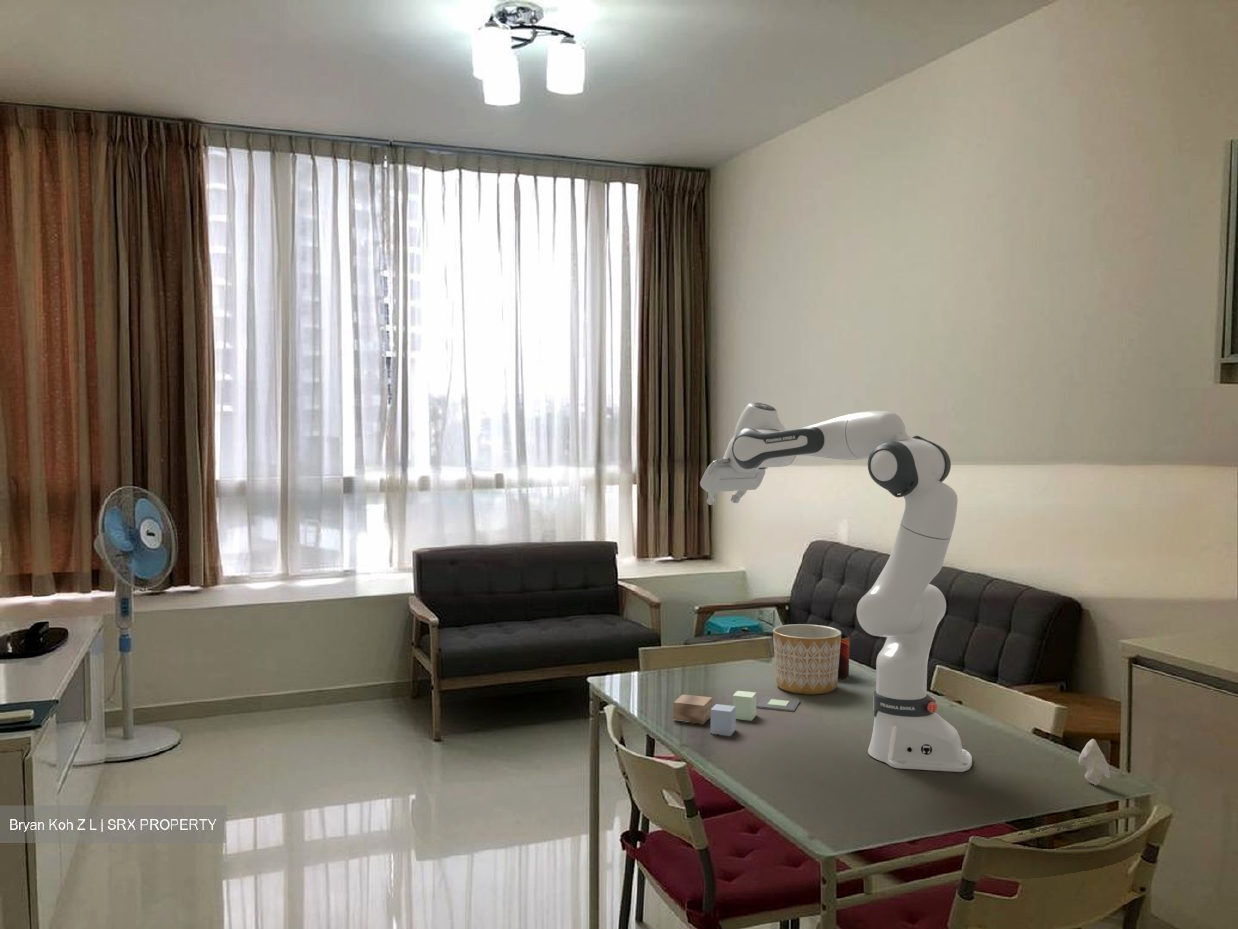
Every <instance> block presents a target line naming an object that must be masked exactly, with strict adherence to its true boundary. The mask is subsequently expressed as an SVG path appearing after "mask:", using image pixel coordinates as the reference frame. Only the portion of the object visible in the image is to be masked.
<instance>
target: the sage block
mask: <svg viewBox="0 0 1238 929" xmlns="http://www.w3.org/2000/svg"><path fill="white" fill-rule="evenodd" d="M756 705H757V692H755V691H744V690H736V691H735V692H734V694H732V706H736V720H743V721H750V722H751V721H753V720H754V719H755V717H756V716H757V708H756Z"/></svg>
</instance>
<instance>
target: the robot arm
mask: <svg viewBox="0 0 1238 929" xmlns="http://www.w3.org/2000/svg"><path fill="white" fill-rule="evenodd" d="M906 430H907V429H906V426H905V422H904V421H903V419H902V418H901V417H900V416H899V415H898V414H897V413H896V412H893V411H888V410H868V411H867V410H866V411H858V412H851V413H847V414H844V415H840V416H837V417H834V418H830V419H828V420H827V419H826V420H824V421H820V422H817V423H813V424H811V425H807V426H804V427H800V428H794V429H793V428H792V429H787V428H785V426H784V425H783V423H782V421H781V420H780V419H779V414H778V411H777V409H776V408H775V407H773V406H771V405H769V404H766V403H761V402H750V403H748V404H747V405H746V407H744V409H743V411H742V412H741V414H740V416H739V418H738V420H737V423H736V426H735V429H734V433H733V434H734V435H733V437H732V438H731V439H730V440H729V442H728V445H727V448H726V450H725V452H724V454H723V457H722V458H717V459H715V460H713V461H712V462H711V463H710V464H709V465H708V466H707V468H706V469H705V471H704V474H703V475H702V478H701V480H700V482H699V485H700V487H701V488H702V489H703V491H705V492H706V493H707V499H706V503H707V504H708V505H709V506H713V505H715V504H716V501H717V499H716V497H715V496H716V495H717V493H718V492H720V493H721V492H722V493H723V492H735V491H736V492H735V493H734V494H732V496H731V498H730V501H731V502H732V503H733V504H738V503H739V502H740V500H741V499H742V498H743V497H744V496H745V494H746V493H747V491H754V490H755V491H756V490H757V489H758V488H759V487H760V486H761V484H762V482H763V479H764V477H765V475H766V470H768V468H778V467H779V468H780V467H781V468H782V467H787V466H790V465H791V464H792V463H793V462H794V460H795V459H796V456H806V457H809V456H810V457H815V458H816V457H817V458H818V457H819V458H823V459H833V460H844V461H845V460H846V461H849V460H850V461H856V460H864V459H865V460H866V459H868V460H867V470H868V473H869V474H868V475H870V478H871V479H872V480H873V482H874V483H876V484H877V485H878V486H880V487H881V488H883V489H885V490H886V491H887V492H889V494H891V495H892V496H894V497H895V498H904V502H905V506H904V511H903V514H902V517H901V521H900V524H899V528H898V531H897V533H896V534H897V535H896V538H895V541H894V544H893V547H892V550H891V553H890V556H889V558H888V560H887V561H886V563H885V566H884V567H883V569H882V571H881V572H880V574H879V575H878V577H877V579H876V581H875V582H874V584H873V585H872V587H871V588H870V589H869V590H868V591H867V592H866V593H865V594H864V595H863V596H862V597H861V598H860V600H858V603H857V606H856V618H857V621H858V623H859V625H860V627H861V628H862V630H863V631H865V633H867V634H869V635H871V636H874V637H883V638H886V639H885V642H884V645H883V646H882V648H881V650H880V651H879V653H878V654H877V657H876V659H875V660H876V662H875V666H876V667H875V668H876V669H875V690H874V693H873V696H872V702H873V704H872V709H873V710H872V713H873V717H874V721H873V728H872V735H871V738H870V742H869V746H868V749H867V753H868V755H869V756H870V757H871V758H874V759H875V760H878V761H880V762H883V763H886V764H887V765H888V766H890V767H891V768H895V769H907V770H921V771H922V770H923V771H936V772H937V771H941V772H956V773H964V772H966V771H969V770H970V769H971V767H972V766H973V757H972V755H971V753H970V752H969V751H968V750H966V749H964V748H963V747H962V741H961V740H962V739H961V737H960V735H959V732H958V730H957V729H956V728H955V727H954V726H953V725H951V723H949V722H948V721H946V720H945V719H944V718H942V717H941V716H940V715H939V714H938V713H936V712H937V710H938V705H937V702H936V700H935V698H936V697H935V696H930V694H927V680H928V675H927V674H928V663H929V661H928V660H929V655H930V651H931V648H932V644H933V640H934V637H935V633H936V631H937V627H938V625H939V623H940V622H941V621H942V619H943V618H944V617H945V614H946V611H947V602H946V597H945V595H944V594H943V592H942V591H941V590H940V588H938V587H937V586H935V585H933V584H930V583H931V582H932V580H933V579H934V578H935V577H936V576H937V575H938V574H939V573H940V572H941V569H942V568H943V565H944V561H945V558H946V554H947V552H948V547H949V546H950V545H949V544H950V542H951V540H952V539H951V538H952V535H953V531H954V527H955V523H956V518H957V510H958V501H959V500H958V495H957V492H956V491H955V490H954V488H952V487H951V486H950V485H948V484H946V483H945V482H944V481H945V480H946V479H947V478H948V476H949V475H950V472H951V468H952V467H951V465H952V464H951V458H950V455H949V453H948V452H947V451H946V449H944V448H943V447H942V446H941V445H939V444H936V443H935V442H932V441H930V440H927V439H926V438H923V437H921V436H919V435H914V436H912V437H911V436H909V435H908V434H907V431H906Z"/></svg>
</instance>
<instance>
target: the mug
mask: <svg viewBox="0 0 1238 929" xmlns="http://www.w3.org/2000/svg"><path fill="white" fill-rule="evenodd" d="M848 676H849V677H850V636H849V635H848V634H845V633H841V644H840V656H839V667H838V679H837V680H845V678H846V679H848V678H849V677H848ZM847 677H848V678H847Z"/></svg>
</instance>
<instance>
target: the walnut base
mask: <svg viewBox="0 0 1238 929" xmlns="http://www.w3.org/2000/svg"><path fill="white" fill-rule="evenodd" d="M672 706H673V713H672V714H673V716H672V717H673V718H672V719H677V720H683V721H689V722H694V723H693V724H695V723H699V724H698V725H703V724H704V723H705V722H706V721H707V720H708V721H709V719H711V709H712V708H713V697H710V696H702V695H701V696H700V695H693V694H681V695H680V696H679V697H678V698H677V699H676V700H675V701H673V705H672ZM708 721H707V722H708ZM707 722H706V723H707ZM706 723H705V724H706ZM705 724H704V725H705Z"/></svg>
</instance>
